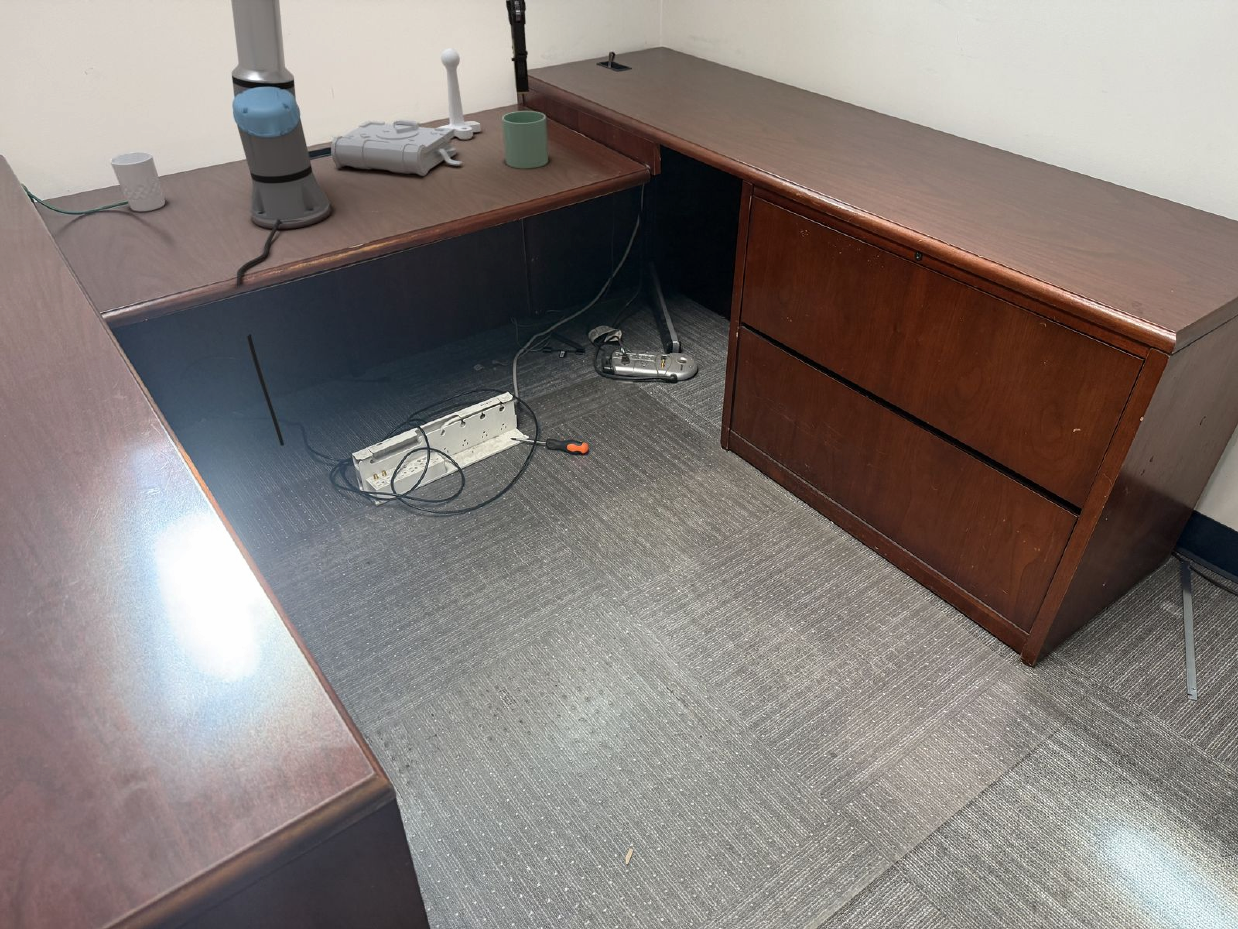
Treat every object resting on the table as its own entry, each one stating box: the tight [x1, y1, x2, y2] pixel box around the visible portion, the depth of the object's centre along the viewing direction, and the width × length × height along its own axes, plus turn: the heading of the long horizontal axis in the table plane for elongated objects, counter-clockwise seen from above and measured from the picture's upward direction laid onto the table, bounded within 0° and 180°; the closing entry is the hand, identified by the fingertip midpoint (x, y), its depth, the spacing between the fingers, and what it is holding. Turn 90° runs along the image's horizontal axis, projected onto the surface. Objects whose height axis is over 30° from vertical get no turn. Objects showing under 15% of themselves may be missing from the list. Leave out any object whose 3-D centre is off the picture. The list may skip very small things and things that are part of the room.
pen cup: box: [501, 110, 549, 169], centre depth 196 cm, size 10×10×10 cm
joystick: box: [437, 48, 482, 140], centre depth 208 cm, size 11×8×20 cm
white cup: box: [109, 151, 166, 212], centre depth 175 cm, size 8×8×10 cm
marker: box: [510, 27, 529, 95], centre depth 185 cm, size 3×3×13 cm
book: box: [330, 119, 463, 177], centre depth 197 cm, size 19×28×8 cm
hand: (522, 89), depth 189 cm, fingers closed on marker, 3 cm apart
